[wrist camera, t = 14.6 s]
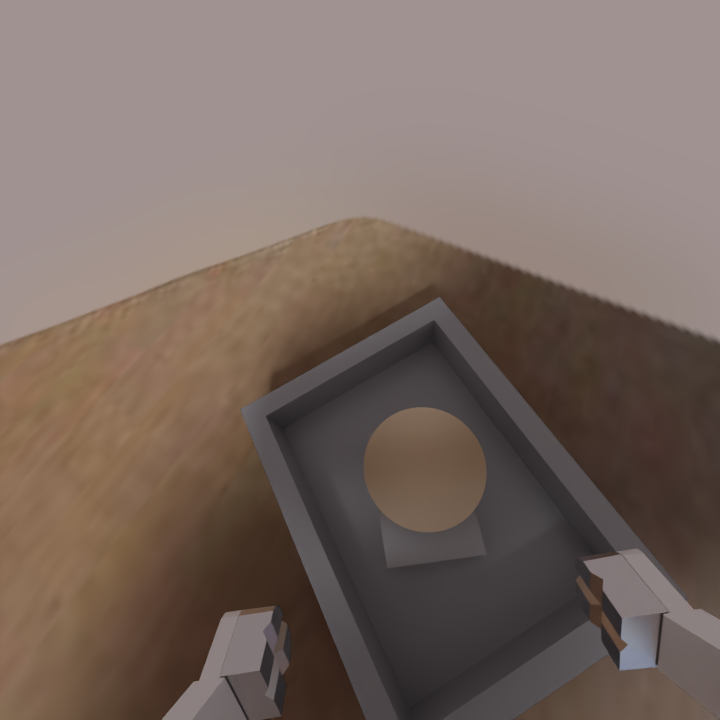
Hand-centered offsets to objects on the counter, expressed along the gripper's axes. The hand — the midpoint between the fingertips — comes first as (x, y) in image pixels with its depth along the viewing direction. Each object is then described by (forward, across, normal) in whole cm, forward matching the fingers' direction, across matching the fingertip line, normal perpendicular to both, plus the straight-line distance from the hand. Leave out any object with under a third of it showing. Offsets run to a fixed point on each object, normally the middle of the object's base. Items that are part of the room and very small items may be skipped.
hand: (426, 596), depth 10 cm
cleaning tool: (+10, -1, +5) cm, 11 cm away
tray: (+11, -1, +6) cm, 12 cm away
